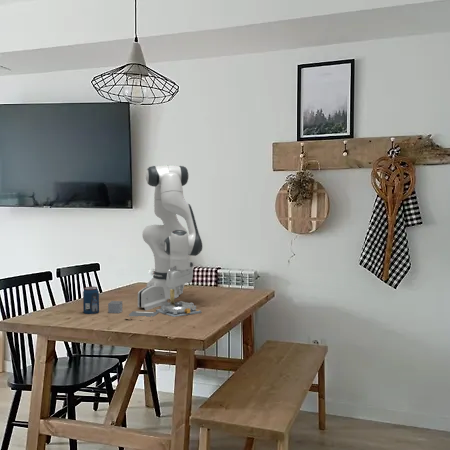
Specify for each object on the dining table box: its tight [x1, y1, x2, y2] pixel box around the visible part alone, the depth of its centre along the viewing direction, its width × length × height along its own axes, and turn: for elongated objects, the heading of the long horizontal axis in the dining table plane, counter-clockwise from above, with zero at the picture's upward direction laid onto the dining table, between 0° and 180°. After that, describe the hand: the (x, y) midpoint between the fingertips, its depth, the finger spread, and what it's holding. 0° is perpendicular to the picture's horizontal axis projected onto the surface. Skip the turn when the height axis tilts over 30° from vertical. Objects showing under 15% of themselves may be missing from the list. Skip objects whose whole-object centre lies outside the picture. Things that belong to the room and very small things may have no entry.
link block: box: [107, 300, 123, 314], centre depth 236 cm, size 5×5×5 cm
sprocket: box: [160, 289, 197, 314], centre depth 237 cm, size 16×16×8 cm
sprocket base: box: [155, 308, 202, 318], centre depth 237 cm, size 15×15×1 cm
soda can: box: [82, 286, 100, 315], centre depth 234 cm, size 7×7×12 cm
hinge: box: [137, 286, 169, 312], centre depth 248 cm, size 17×5×10 cm, turn 147°
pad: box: [128, 310, 159, 318], centre depth 230 cm, size 12×12×1 cm
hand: (179, 294), depth 243 cm, fingers closed
